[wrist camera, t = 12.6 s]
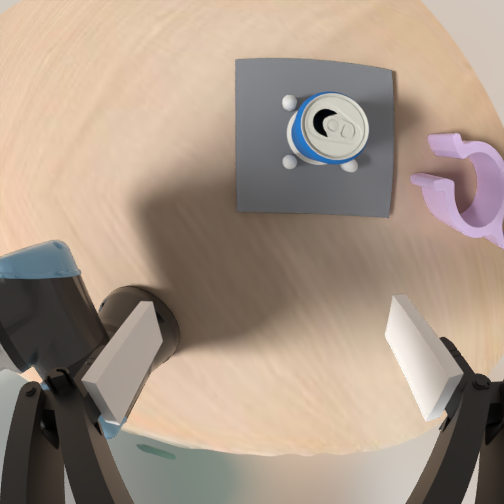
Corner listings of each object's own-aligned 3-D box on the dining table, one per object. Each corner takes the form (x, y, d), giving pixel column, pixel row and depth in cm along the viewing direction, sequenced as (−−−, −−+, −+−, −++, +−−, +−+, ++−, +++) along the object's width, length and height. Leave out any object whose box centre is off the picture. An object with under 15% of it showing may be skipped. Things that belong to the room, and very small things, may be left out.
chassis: (238, 209, 37) (232, 217, 33) (236, 62, 30) (231, 51, 26) (386, 215, 35) (397, 223, 31) (388, 72, 28) (400, 64, 24)
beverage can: (302, 101, 30) (312, 76, 19) (351, 122, 30) (384, 110, 19) (283, 148, 32) (283, 145, 21) (332, 168, 32) (357, 178, 21)
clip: (510, 190, 30) (536, 199, 24) (482, 253, 35) (506, 270, 28) (433, 119, 29) (459, 115, 23) (400, 194, 34) (423, 204, 27)
